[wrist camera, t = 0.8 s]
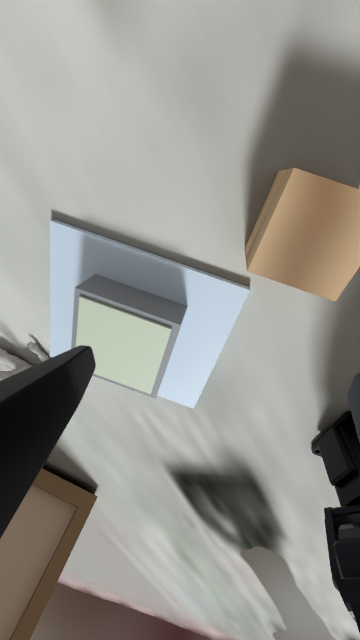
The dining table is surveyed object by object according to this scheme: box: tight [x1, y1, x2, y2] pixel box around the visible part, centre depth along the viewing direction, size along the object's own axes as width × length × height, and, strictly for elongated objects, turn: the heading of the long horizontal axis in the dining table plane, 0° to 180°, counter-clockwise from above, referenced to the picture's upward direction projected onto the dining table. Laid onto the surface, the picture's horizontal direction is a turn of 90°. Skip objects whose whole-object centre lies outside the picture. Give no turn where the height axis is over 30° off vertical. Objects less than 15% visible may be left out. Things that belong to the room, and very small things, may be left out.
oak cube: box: [245, 168, 360, 301], centre depth 14 cm, size 5×5×5 cm
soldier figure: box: [0, 342, 50, 381], centre depth 27 cm, size 8×5×12 cm
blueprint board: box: [49, 220, 250, 409], centre depth 23 cm, size 16×14×1 cm
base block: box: [71, 274, 188, 398], centre depth 21 cm, size 8×8×3 cm
